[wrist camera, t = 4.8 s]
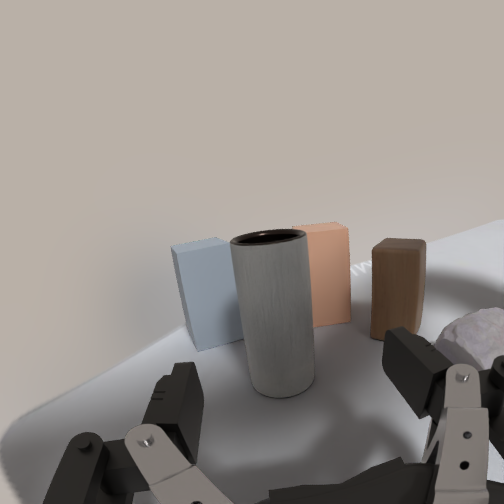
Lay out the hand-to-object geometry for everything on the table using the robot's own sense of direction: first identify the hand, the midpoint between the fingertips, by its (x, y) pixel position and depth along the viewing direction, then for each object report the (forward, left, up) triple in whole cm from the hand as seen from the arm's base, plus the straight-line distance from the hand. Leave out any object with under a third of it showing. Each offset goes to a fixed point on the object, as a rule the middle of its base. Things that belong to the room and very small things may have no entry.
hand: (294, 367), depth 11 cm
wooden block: (-12, -8, -6) cm, 16 cm away
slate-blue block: (+3, -16, -6) cm, 17 cm away
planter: (-1, -7, -6) cm, 9 cm away
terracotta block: (-8, -15, -6) cm, 18 cm away
